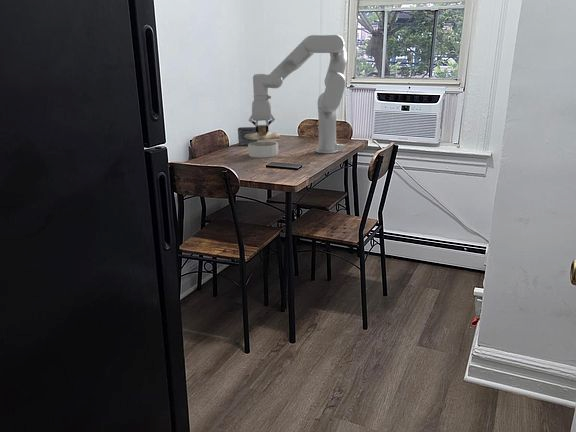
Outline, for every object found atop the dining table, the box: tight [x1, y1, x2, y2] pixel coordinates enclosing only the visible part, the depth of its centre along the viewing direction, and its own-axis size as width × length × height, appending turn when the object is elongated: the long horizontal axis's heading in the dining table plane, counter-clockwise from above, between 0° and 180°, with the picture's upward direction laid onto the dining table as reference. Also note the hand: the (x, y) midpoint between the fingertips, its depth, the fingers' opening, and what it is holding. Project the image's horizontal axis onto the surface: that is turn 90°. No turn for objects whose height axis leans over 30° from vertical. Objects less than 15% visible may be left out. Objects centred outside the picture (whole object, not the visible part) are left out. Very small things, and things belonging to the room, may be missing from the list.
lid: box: [245, 124, 281, 141], centre depth 274 cm, size 19×19×6 cm
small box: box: [237, 126, 258, 147], centre depth 306 cm, size 11×6×10 cm, turn 84°
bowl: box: [247, 140, 279, 159], centre depth 276 cm, size 16×16×6 cm
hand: (262, 133), depth 274 cm, fingers closed on lid, 4 cm apart
